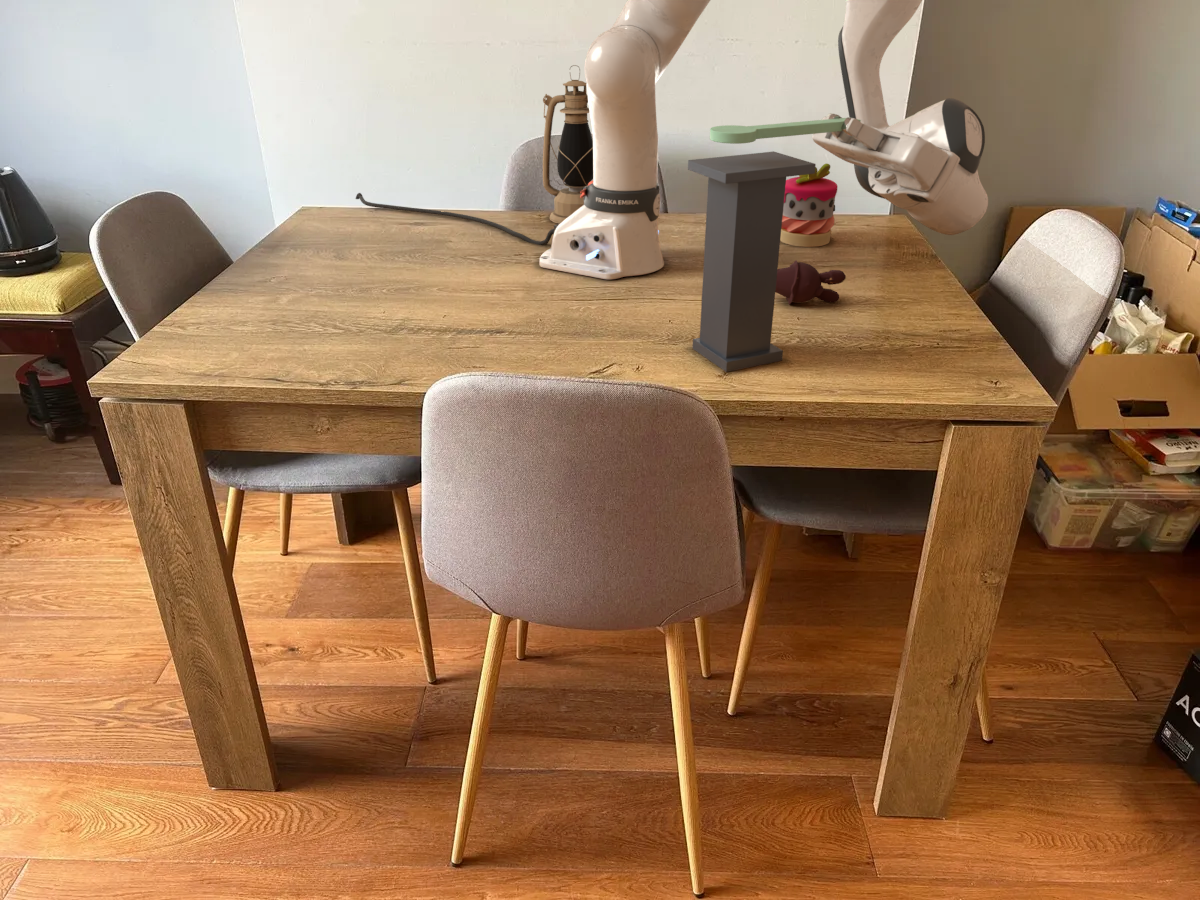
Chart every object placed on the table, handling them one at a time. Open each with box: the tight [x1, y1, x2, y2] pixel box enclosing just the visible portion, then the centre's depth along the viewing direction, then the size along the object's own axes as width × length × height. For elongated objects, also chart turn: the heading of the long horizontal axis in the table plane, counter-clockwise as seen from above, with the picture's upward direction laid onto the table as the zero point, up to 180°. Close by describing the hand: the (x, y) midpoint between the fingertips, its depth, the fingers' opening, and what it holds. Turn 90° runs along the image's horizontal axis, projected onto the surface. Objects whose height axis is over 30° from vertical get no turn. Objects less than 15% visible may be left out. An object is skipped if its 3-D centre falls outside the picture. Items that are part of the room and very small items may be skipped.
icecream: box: [775, 259, 847, 305], centre depth 140 cm, size 7×7×15 cm
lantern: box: [542, 64, 593, 224], centre depth 181 cm, size 14×12×30 cm
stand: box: [687, 150, 817, 373], centre depth 116 cm, size 13×9×26 cm
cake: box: [780, 162, 839, 248], centre depth 169 cm, size 10×11×15 cm
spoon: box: [709, 116, 861, 145], centre depth 110 cm, size 21×6×1 cm, turn 115°
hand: (838, 121), depth 113 cm, fingers closed on spoon, 2 cm apart
